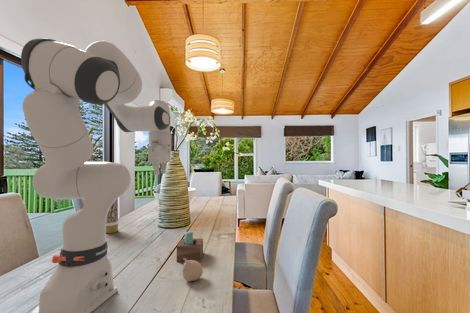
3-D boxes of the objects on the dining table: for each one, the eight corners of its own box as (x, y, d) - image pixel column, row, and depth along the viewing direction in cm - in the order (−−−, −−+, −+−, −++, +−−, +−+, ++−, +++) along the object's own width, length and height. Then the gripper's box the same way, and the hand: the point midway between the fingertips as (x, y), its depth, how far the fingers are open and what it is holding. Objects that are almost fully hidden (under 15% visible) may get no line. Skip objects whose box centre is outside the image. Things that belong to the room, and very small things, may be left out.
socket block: (200, 261, 99) (200, 246, 99) (176, 261, 99) (176, 246, 98) (203, 252, 108) (202, 238, 108) (181, 253, 108) (181, 238, 108)
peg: (192, 259, 101) (192, 233, 101) (184, 259, 101) (183, 233, 101) (193, 256, 104) (193, 231, 104) (185, 256, 104) (185, 231, 104)
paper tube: (112, 234, 135) (112, 186, 135) (101, 233, 136) (100, 186, 136) (120, 230, 142) (120, 185, 142) (109, 229, 143) (109, 184, 143)
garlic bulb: (185, 275, 87) (185, 251, 87) (204, 275, 87) (203, 251, 87) (180, 285, 81) (180, 259, 81) (200, 285, 81) (200, 259, 81)
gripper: (160, 139, 97) (160, 176, 97) (173, 142, 117) (173, 172, 117) (143, 139, 97) (143, 176, 97) (159, 142, 117) (159, 172, 117)
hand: (160, 174), depth 107 cm, fingers open, 8 cm apart
